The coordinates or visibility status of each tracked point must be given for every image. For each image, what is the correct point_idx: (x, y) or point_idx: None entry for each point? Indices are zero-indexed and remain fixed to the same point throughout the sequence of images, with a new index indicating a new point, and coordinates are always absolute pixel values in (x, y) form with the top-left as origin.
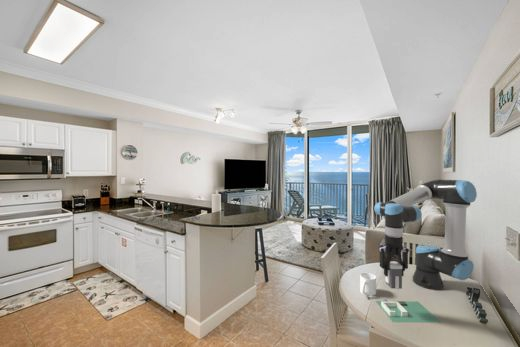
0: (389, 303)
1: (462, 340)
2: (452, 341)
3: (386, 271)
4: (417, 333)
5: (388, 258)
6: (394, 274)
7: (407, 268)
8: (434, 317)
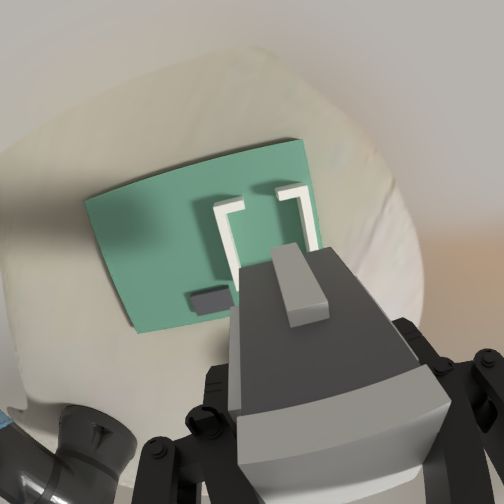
0: None
1: (59, 123)
2: (92, 101)
3: (421, 352)
4: (208, 102)
5: (490, 500)
6: (345, 327)
7: (149, 441)
8: (100, 229)
